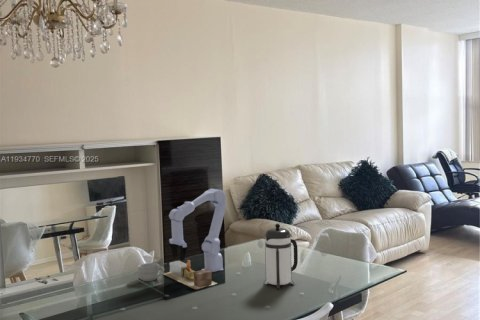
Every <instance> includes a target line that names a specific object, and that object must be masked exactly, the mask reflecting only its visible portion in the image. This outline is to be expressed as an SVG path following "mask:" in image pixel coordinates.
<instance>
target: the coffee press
mask: <svg viewBox="0 0 480 320" xmlns="http://www.w3.org/2000/svg"><path fill="white" fill-rule="evenodd" d="M291 237H292V233H291V232H290V230H289V229H287V228H284V227H281V225H280V223H276V224H275V225H274V227H273V228H269V229H268V230H266V231H265V233H264V239H265V240H264V241H265V242H264V246H265V247H264V251H265V253H264V257H265V260H264V261H265V279H264V281H263V283H265V282H266V283H267V284H270V285H273V286H276V290H281V286H285V285H288V284H290V285H291V284H295V281H294V280H293V276H292V274H293V273H292V272H294V271H295V270H296V269H297V266H298V261H299V260H298V259H299V256H298V244H297V241H296V240H295V239H292V238H291ZM292 245H293V264H292ZM291 281H292V282H291Z"/></svg>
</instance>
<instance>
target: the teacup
mask: <svg viewBox="0 0 480 320" xmlns="http://www.w3.org/2000/svg"><path fill="white" fill-rule="evenodd" d="M160 269H161V270H162V271H161V272H160ZM137 270H138V271H137V272H138V273H137V274H138V277H139V279H140V280H141V281H142V282H143V281H144V282H153V281H156V279H158V278H160V277H161V275H164V274H163V273H165V267H164V266H162V265H160V264H159V263H157V262H148V263H147V262H145V263H142V264H141V263H140V264H139V265H137Z"/></svg>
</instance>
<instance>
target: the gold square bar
mask: <svg viewBox="0 0 480 320" xmlns="http://www.w3.org/2000/svg"><path fill="white" fill-rule="evenodd" d="M186 264H187V268H185V269H183V275H184V276H186V277H189V278H191V279H192V278H194V272H196V271H197V270H196V271H195V270H193V269H192V267H191V260H190V259H186Z"/></svg>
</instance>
